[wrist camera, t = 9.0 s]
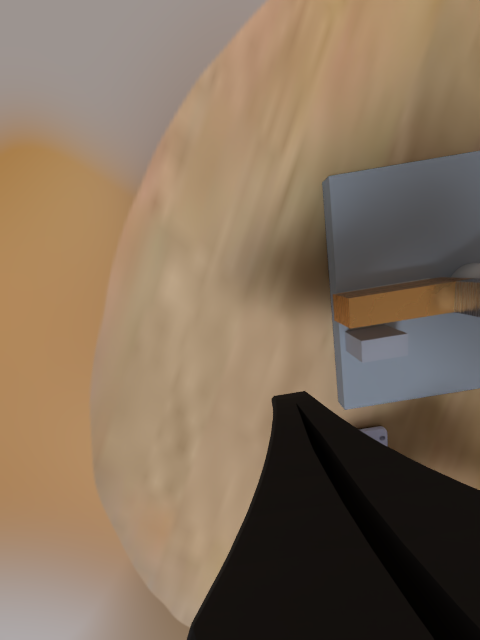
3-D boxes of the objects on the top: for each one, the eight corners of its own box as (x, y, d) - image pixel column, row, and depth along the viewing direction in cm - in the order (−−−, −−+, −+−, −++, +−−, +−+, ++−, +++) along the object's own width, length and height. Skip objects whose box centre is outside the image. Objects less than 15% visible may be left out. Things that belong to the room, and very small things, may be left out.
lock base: (560, 366, 20) (638, 389, 17) (338, 401, 21) (362, 432, 17) (598, 136, 16) (711, 94, 13) (322, 182, 17) (349, 156, 13)
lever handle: (512, 243, 16) (603, 234, 12) (505, 313, 18) (586, 327, 14) (331, 272, 16) (362, 273, 12) (335, 340, 18) (365, 361, 14)
